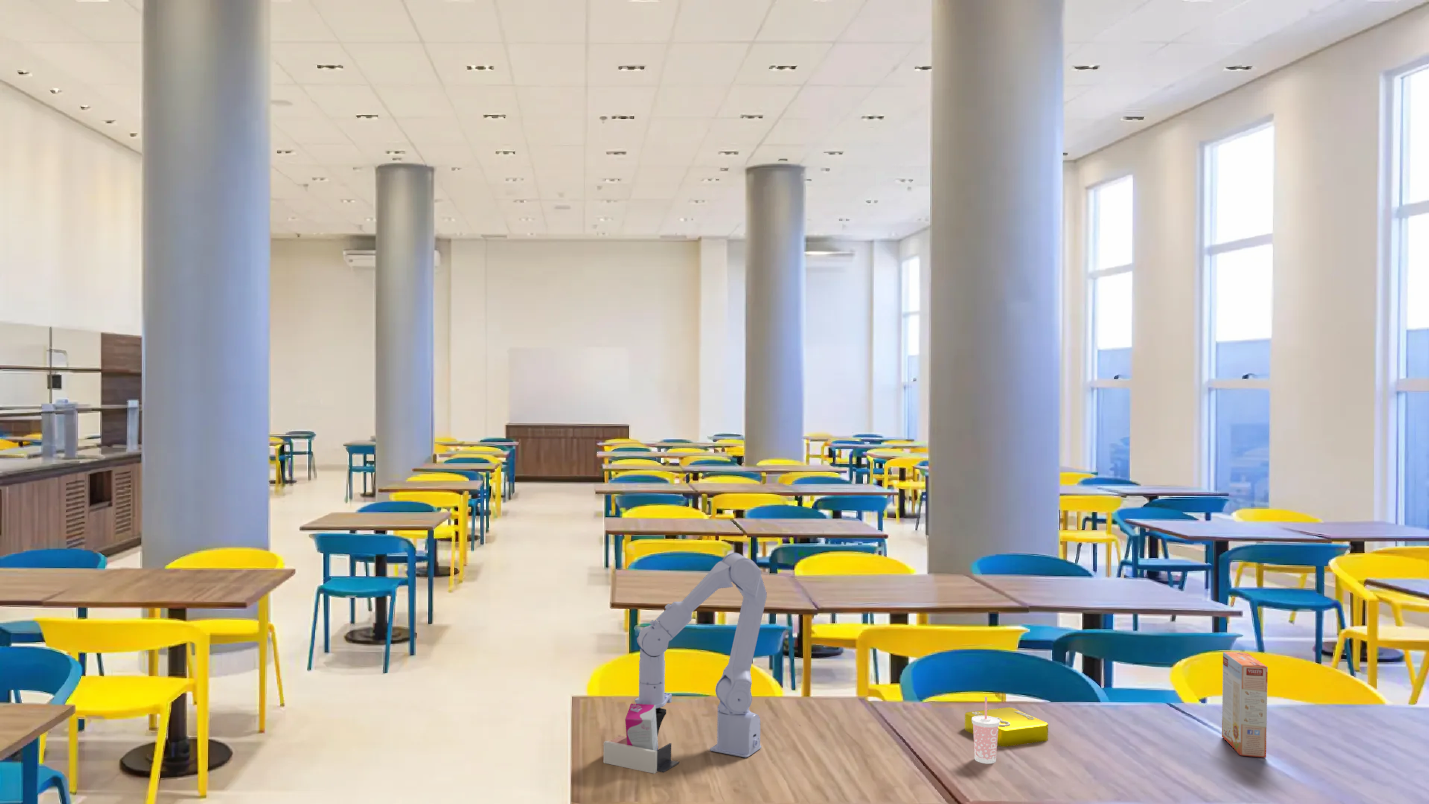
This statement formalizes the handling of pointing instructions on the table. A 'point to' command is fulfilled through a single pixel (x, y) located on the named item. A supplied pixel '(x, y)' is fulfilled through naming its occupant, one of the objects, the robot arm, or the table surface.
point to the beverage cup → (985, 737)
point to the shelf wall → (630, 757)
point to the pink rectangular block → (620, 740)
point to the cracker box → (1244, 704)
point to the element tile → (1012, 726)
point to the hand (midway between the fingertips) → (651, 742)
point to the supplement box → (642, 727)
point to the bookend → (665, 759)
